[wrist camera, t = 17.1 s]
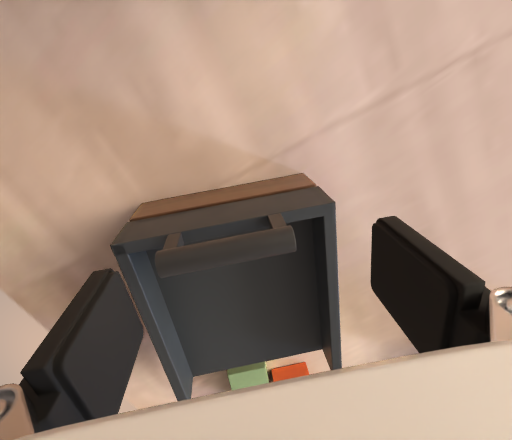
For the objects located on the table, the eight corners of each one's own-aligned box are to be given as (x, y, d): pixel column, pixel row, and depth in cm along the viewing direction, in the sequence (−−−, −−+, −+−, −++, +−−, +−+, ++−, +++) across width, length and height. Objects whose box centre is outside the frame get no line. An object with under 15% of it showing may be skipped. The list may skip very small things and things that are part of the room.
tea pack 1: (236, 406, 31) (235, 389, 33) (272, 399, 31) (269, 382, 33) (227, 375, 29) (227, 359, 31) (265, 367, 29) (263, 351, 31)
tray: (125, 218, 19) (83, 274, 13) (318, 181, 20) (360, 219, 14) (185, 373, 26) (175, 456, 20) (328, 342, 27) (360, 414, 21)
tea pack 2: (279, 414, 32) (276, 397, 34) (313, 406, 33) (308, 390, 34) (274, 385, 30) (271, 368, 32) (310, 377, 31) (305, 361, 32)
